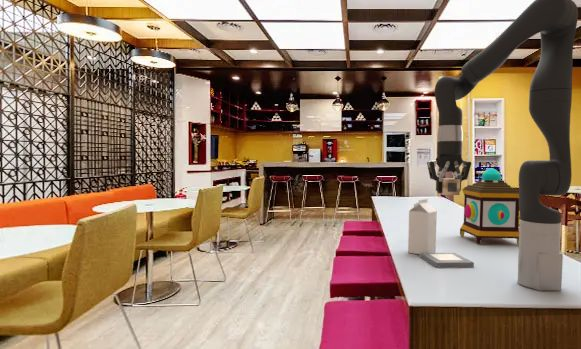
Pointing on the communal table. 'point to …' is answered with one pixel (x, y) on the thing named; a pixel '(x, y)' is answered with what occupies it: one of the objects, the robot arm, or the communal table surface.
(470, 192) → the decorative lantern
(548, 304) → the communal table surface
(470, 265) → the slate board
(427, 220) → the milk carton
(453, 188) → the marked cube
